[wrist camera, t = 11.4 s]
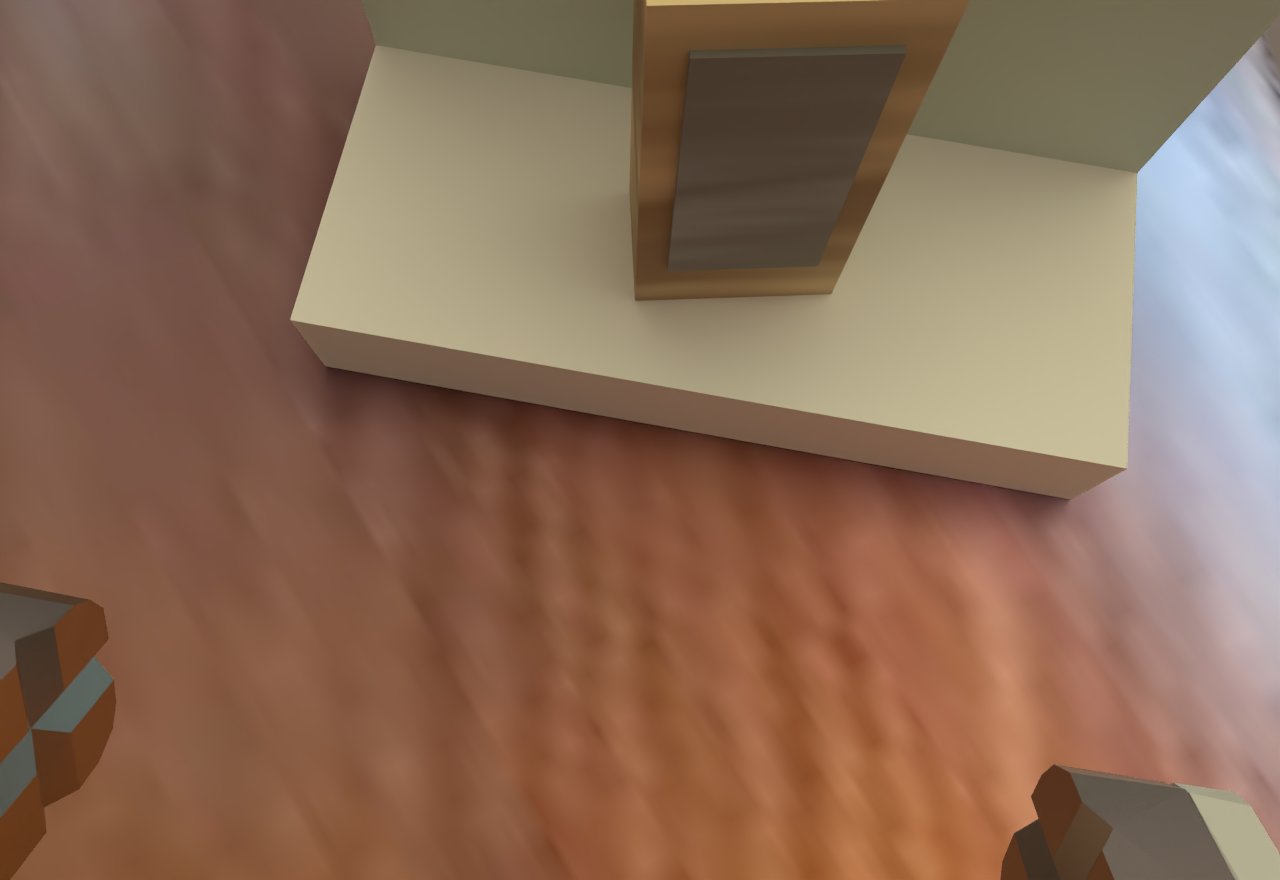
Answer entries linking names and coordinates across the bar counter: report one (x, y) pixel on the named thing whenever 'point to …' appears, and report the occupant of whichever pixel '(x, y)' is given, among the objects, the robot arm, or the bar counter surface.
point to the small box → (768, 135)
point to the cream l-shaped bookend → (770, 325)
